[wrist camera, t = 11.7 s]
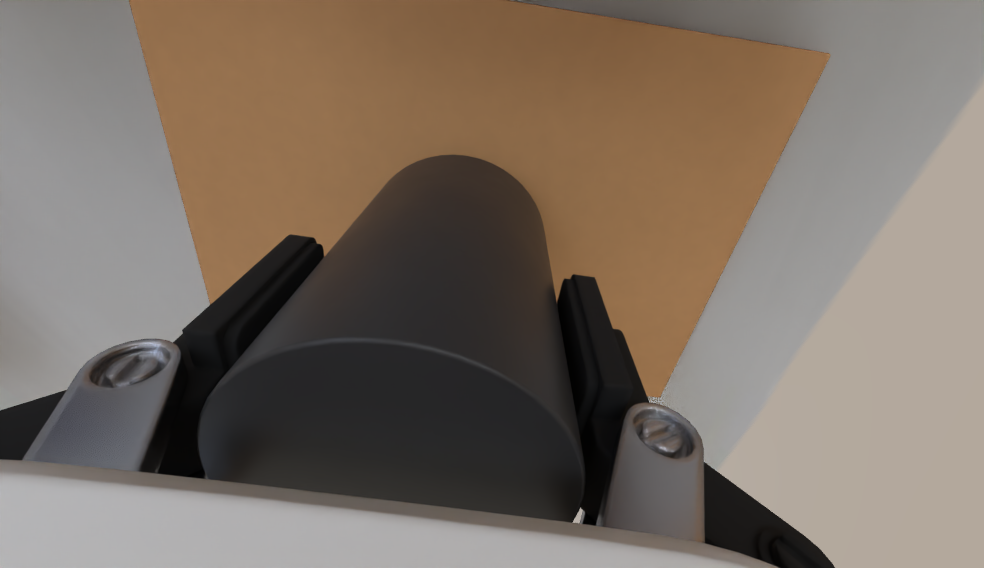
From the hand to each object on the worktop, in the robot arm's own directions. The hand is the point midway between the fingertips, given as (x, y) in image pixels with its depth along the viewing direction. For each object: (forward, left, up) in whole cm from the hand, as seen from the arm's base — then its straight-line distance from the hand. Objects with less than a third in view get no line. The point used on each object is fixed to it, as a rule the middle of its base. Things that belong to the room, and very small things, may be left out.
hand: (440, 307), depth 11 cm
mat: (0, 0, -6) cm, 6 cm away
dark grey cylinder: (0, 0, -4) cm, 4 cm away
